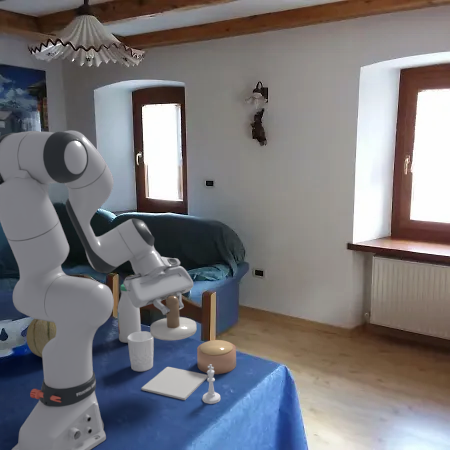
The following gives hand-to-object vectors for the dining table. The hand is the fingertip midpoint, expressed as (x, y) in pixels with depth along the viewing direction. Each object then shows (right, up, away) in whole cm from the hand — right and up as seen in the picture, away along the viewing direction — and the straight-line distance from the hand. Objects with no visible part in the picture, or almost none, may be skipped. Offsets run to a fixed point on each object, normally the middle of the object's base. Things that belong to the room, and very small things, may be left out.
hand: (174, 310), depth 135 cm
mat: (0, -22, +4) cm, 22 cm away
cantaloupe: (-43, -19, +24) cm, 52 cm away
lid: (0, -6, +2) cm, 6 cm away
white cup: (-12, -20, +15) cm, 28 cm away
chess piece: (+11, -23, -4) cm, 26 cm away
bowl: (+12, -20, +15) cm, 27 cm away
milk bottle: (-19, -17, +36) cm, 44 cm away
